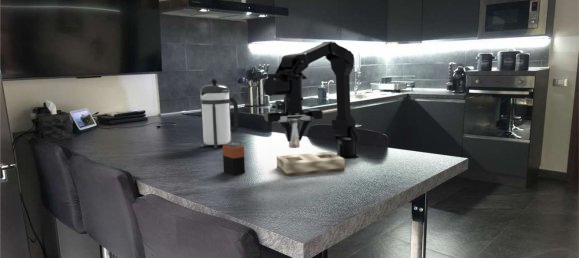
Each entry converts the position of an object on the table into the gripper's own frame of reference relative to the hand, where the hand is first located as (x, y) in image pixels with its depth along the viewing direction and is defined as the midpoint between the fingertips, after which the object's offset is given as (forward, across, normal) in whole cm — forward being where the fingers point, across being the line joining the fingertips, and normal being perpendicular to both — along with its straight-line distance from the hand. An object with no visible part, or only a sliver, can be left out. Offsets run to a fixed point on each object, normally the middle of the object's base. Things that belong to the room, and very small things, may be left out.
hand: (294, 141), depth 131 cm
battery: (+10, +20, -5) cm, 23 cm away
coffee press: (+10, +19, -54) cm, 58 cm away
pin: (+2, 0, 0) cm, 2 cm away
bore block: (+10, -5, 0) cm, 11 cm away
